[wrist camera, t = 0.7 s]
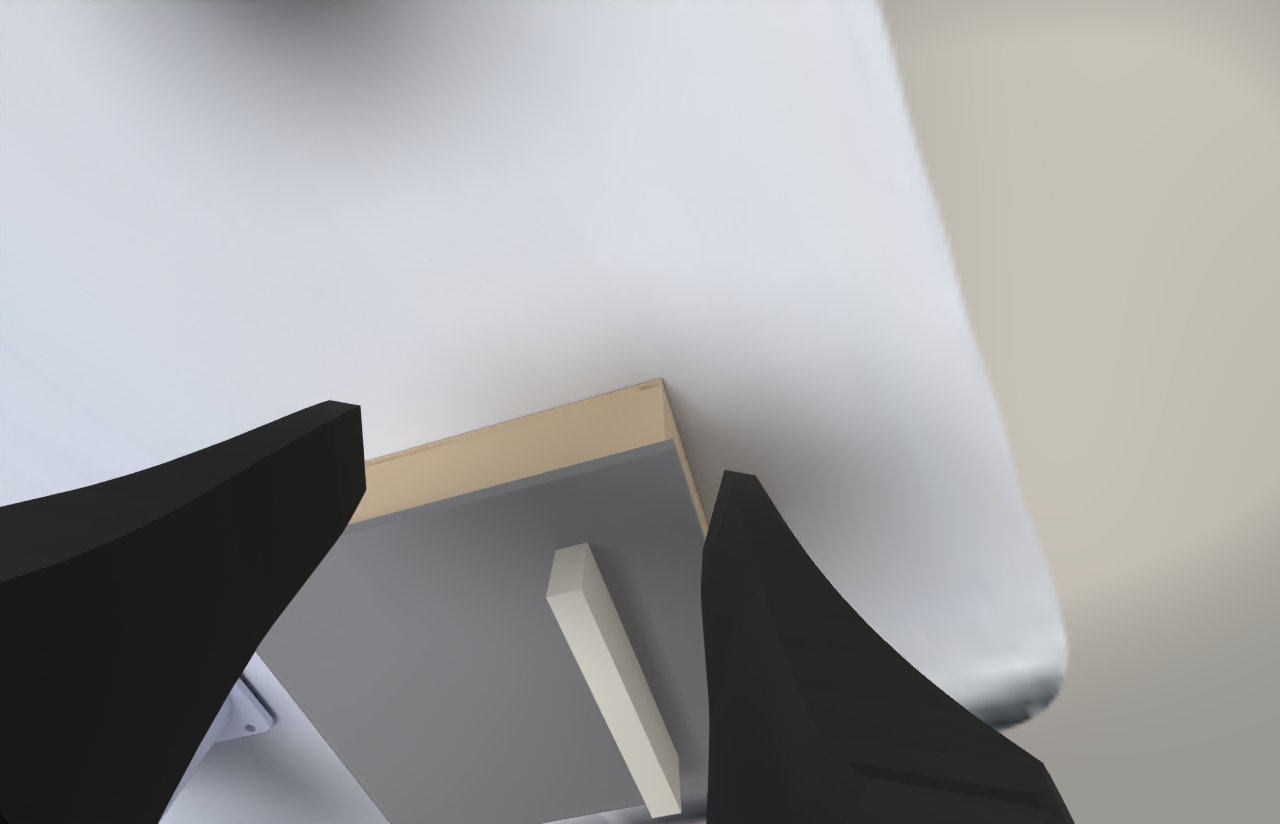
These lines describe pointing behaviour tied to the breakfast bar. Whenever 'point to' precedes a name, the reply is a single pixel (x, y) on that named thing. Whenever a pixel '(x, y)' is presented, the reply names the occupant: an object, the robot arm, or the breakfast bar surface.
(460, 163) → the breakfast bar surface
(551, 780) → the grey square slab
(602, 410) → the storage box
